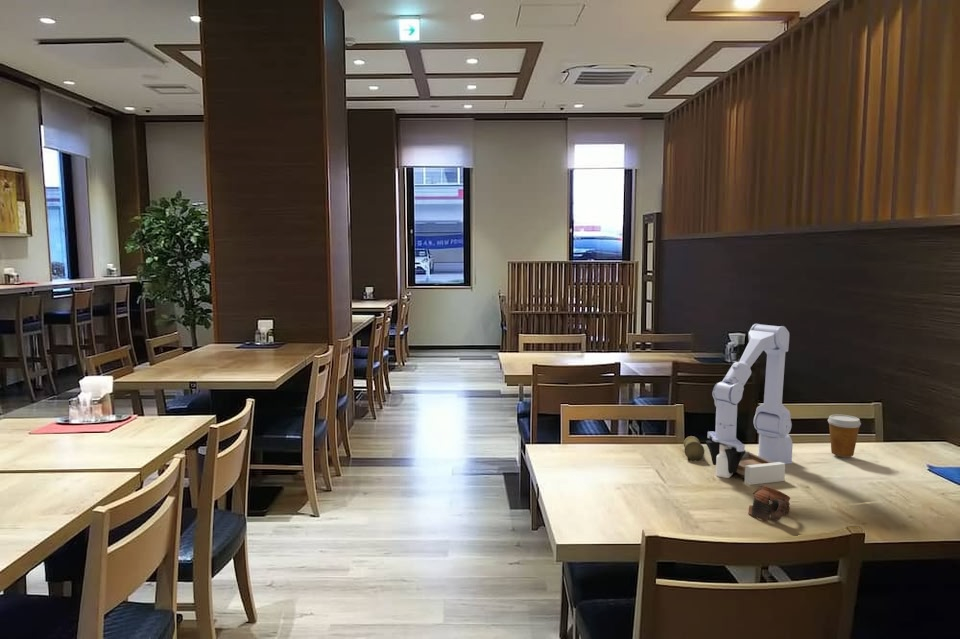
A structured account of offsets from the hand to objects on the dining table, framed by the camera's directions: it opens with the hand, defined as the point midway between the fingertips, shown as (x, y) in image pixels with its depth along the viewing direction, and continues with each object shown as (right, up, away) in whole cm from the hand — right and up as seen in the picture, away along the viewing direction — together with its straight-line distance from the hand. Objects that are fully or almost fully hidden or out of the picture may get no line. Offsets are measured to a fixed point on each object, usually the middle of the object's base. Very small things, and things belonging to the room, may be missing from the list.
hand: (724, 468), depth 193 cm
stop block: (+10, -3, -5) cm, 11 cm away
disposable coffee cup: (+46, 0, +21) cm, 51 cm away
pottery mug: (-1, -7, -31) cm, 32 cm away
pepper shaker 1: (-4, +2, +14) cm, 15 cm away
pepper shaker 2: (0, -2, 0) cm, 2 cm away
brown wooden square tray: (+8, -2, +3) cm, 8 cm away
